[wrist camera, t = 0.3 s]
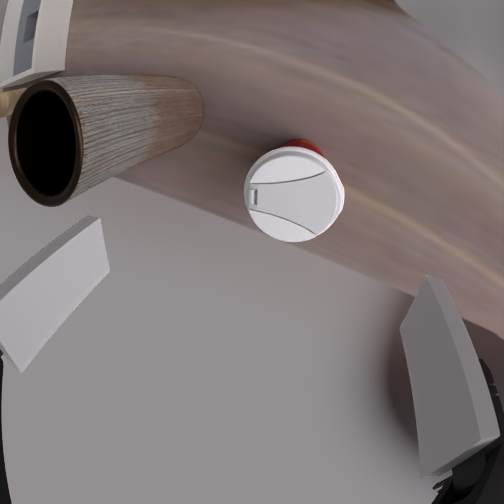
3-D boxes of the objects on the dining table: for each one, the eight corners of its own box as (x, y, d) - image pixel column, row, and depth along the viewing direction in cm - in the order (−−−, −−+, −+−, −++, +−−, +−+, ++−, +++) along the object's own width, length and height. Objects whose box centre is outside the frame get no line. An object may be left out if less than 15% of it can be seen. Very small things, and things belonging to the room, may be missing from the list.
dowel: (47, 85, 34) (-14, 97, 22) (60, 81, 34) (-4, 92, 22) (47, 105, 36) (-14, 122, 24) (60, 102, 36) (-4, 118, 24)
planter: (145, 75, 32) (7, 86, 13) (211, 80, 31) (86, 73, 12) (137, 141, 37) (12, 197, 18) (199, 152, 37) (84, 220, 17)
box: (35, -9, 23) (11, -10, 17) (81, -34, 21) (55, -40, 15) (23, 84, 34) (-4, 89, 28) (64, 70, 32) (34, 72, 27)
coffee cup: (266, 188, 37) (239, 241, 25) (269, 127, 33) (240, 145, 21) (329, 196, 36) (336, 254, 23) (337, 134, 32) (353, 157, 19)
